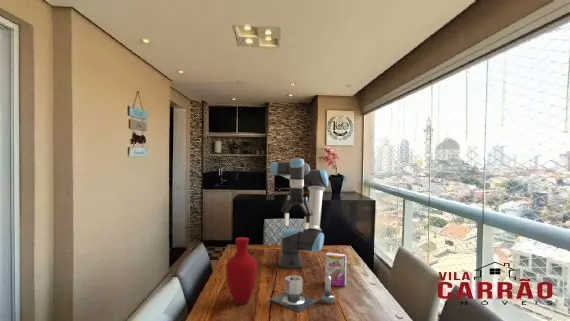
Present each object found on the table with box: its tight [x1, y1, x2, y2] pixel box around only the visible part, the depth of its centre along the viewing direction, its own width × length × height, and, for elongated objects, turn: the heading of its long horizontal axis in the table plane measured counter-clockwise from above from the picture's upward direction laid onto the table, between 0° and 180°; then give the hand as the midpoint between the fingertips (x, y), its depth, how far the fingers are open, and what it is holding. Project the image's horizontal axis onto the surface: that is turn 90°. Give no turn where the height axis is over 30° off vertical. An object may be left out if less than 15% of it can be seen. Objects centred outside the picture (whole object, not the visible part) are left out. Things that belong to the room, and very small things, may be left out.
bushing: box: [284, 274, 304, 295], centre depth 153 cm, size 8×8×6 cm
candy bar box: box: [324, 252, 347, 288], centre depth 175 cm, size 11×5×16 cm, turn 71°
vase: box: [225, 236, 258, 305], centre depth 153 cm, size 15×15×30 cm
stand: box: [320, 275, 335, 305], centre depth 154 cm, size 6×6×12 cm
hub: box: [269, 279, 318, 313], centre depth 153 cm, size 18×14×10 cm
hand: (296, 227), depth 172 cm, fingers open, 13 cm apart
